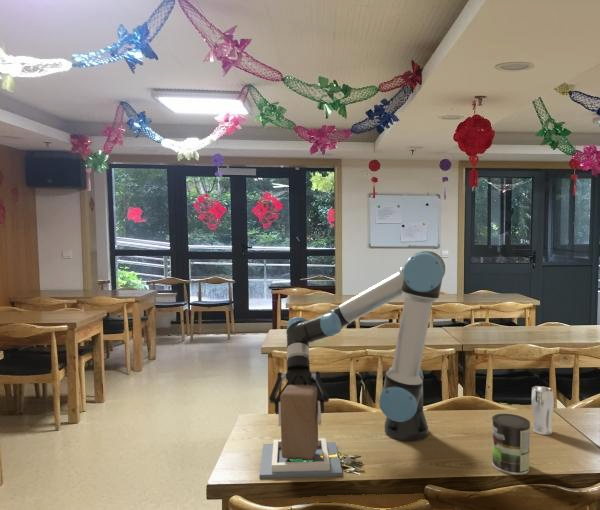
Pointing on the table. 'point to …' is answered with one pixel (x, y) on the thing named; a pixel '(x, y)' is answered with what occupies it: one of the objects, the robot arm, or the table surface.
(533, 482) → the table surface
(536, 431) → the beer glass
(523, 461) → the coffee can
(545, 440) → the table surface
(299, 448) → the block
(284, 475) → the grey square frame tray
